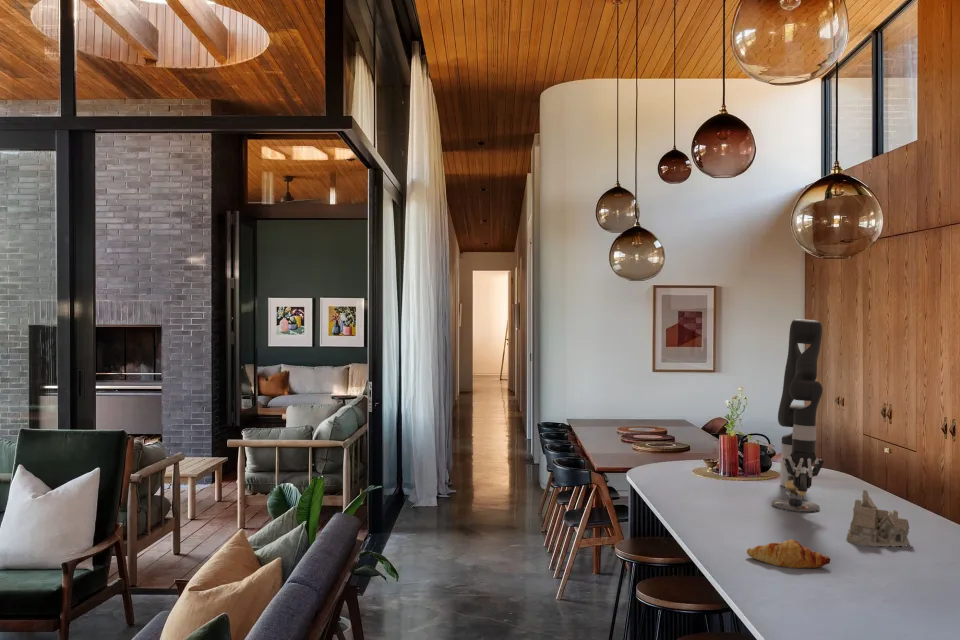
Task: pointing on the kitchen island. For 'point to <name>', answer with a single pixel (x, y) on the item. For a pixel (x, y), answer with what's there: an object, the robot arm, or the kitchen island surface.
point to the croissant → (788, 555)
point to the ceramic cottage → (876, 525)
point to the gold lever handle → (802, 484)
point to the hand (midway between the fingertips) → (802, 487)
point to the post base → (795, 503)
